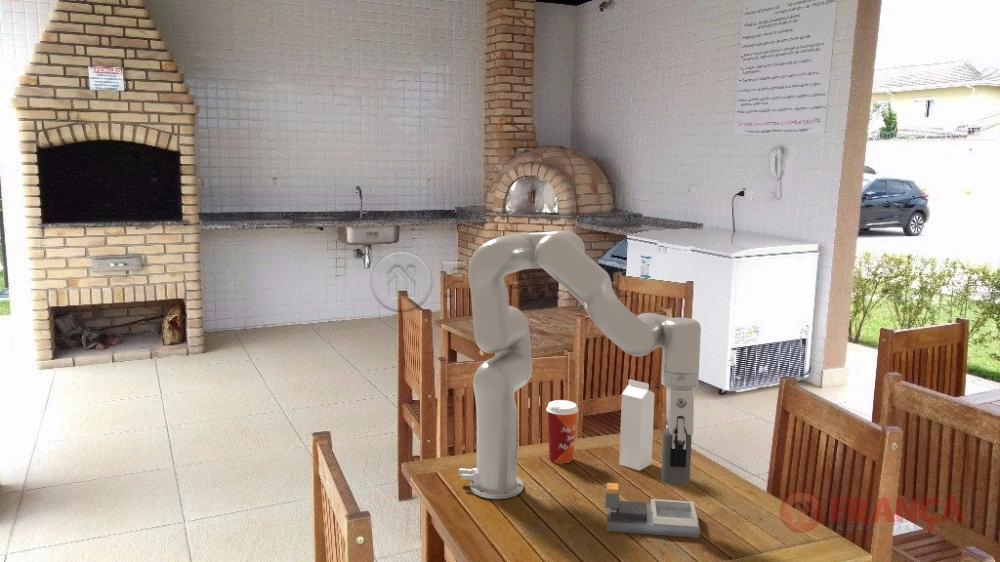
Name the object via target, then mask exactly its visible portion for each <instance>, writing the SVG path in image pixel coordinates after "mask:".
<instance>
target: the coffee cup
mask: <svg viewBox="0 0 1000 562" xmlns="http://www.w3.org/2000/svg"><path fill="white" fill-rule="evenodd" d="M545 410H546V412H547V428H548V429H547V431H548V434H547V435H548V436H547V437H548V453H549V455H548V456H549V461H550V460H551V461H553V462H557V463H568V462H571V461H572V462H573V458H574V450H575V440H576V438H575V437H576V427H577V415H578V412H579V408H578V406H577V404H576V403H575V402H573V401H570V400H565V399H556V400H552V401H549V402H548V404H547V407H546V409H545ZM551 461H550V462H551ZM553 462H552V463H553ZM572 462H571V463H572Z"/></svg>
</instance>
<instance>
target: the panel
mask: <svg viewBox="0 0 1000 562" xmlns="http://www.w3.org/2000/svg"><path fill="white" fill-rule="evenodd" d="M694 502H695V501H690V500H689V501H688V500H687V501H686V500H675V499H673V500H672V499H659V498H658V499H657V498H650V503H647V502H642V501H641V502H640V501H638V502H637V501H628V500H619V509H613V508H606V518H607V519H606V520H607V521H606V532H614V533H615V532H617V533H632V534H642V535H643V534H644V535H657V536H670V537H683V538H694V539H700V536H701V527H700V523H699V519H698V515H697V514H698V513H697V510H696V506H695V503H694Z"/></svg>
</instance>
